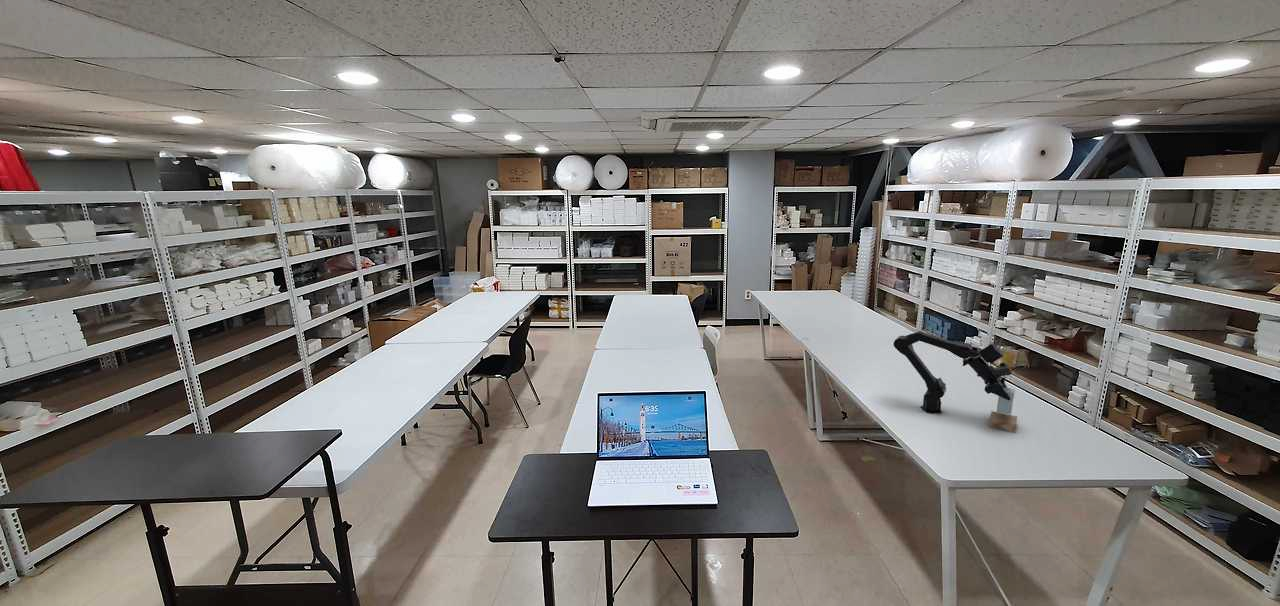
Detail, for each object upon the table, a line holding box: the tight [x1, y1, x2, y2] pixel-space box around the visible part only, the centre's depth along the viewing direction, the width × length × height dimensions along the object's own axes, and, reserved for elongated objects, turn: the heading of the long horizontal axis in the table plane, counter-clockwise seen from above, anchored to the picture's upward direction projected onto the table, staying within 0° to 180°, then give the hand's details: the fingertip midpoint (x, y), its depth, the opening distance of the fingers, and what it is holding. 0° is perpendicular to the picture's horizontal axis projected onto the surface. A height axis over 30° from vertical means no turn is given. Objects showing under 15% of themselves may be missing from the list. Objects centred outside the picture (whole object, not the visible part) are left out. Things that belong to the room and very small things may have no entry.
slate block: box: [995, 387, 1016, 415], centre depth 203 cm, size 5×5×10 cm
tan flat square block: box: [988, 410, 1018, 433], centre depth 204 cm, size 9×9×4 cm
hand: (1010, 397), depth 201 cm, fingers closed on slate block, 5 cm apart
